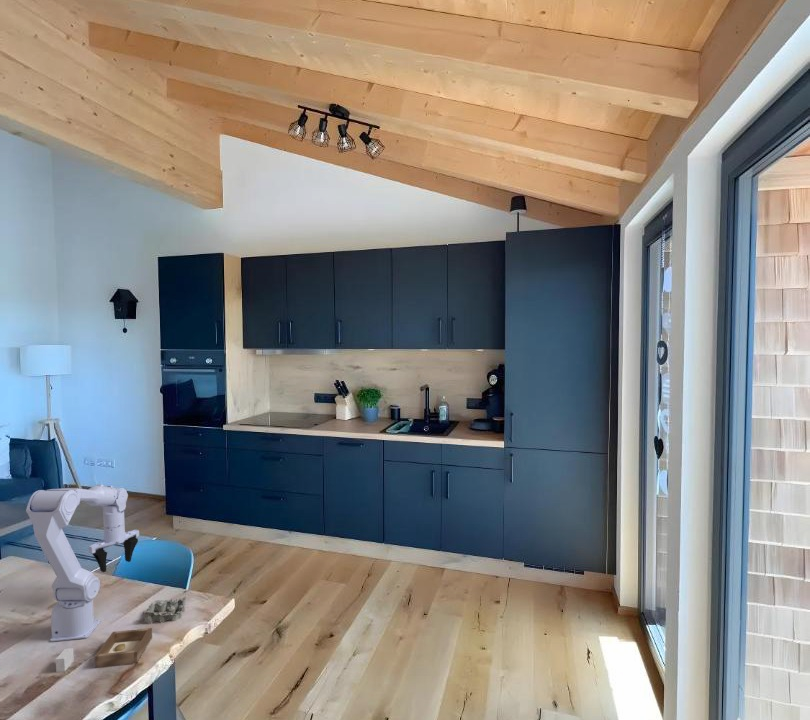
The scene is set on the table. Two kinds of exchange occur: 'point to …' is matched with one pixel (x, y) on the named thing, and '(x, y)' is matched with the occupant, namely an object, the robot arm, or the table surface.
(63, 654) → the lid
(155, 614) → the egg carton
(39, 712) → the table surface
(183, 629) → the table surface
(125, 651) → the box
